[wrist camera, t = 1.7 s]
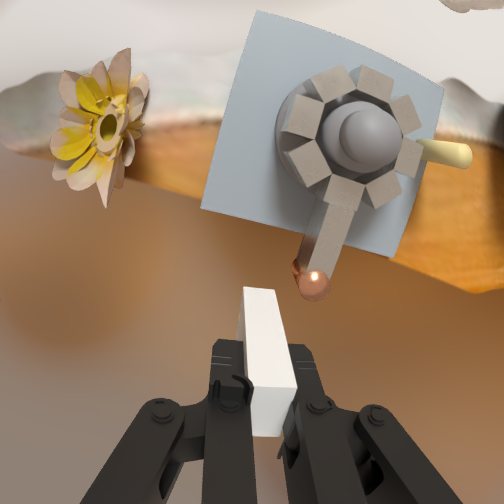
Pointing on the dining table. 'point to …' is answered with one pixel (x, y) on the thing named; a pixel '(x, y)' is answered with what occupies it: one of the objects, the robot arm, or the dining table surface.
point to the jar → (472, 4)
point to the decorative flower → (98, 125)
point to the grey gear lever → (335, 186)
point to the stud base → (327, 137)
